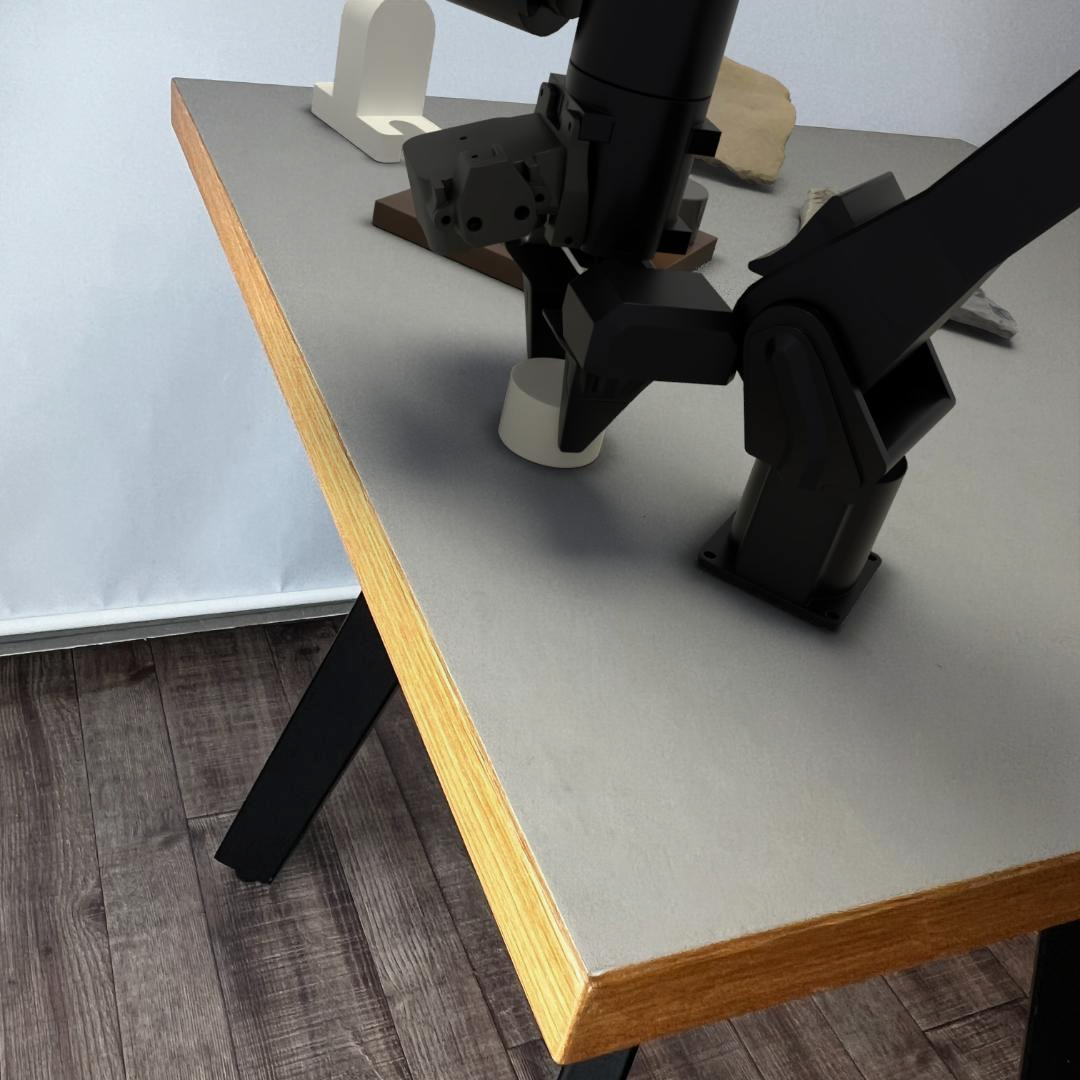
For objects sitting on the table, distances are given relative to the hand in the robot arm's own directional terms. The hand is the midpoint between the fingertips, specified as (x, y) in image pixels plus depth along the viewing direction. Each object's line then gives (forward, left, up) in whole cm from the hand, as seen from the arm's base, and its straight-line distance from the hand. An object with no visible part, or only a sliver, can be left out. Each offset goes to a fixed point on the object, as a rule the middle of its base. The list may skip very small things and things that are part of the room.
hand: (553, 420), depth 57 cm
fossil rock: (+41, -6, -1) cm, 41 cm away
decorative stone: (+48, +13, -1) cm, 50 cm away
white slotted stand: (+27, +29, -1) cm, 40 cm away
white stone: (0, 0, -1) cm, 1 cm away
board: (+21, +12, -1) cm, 25 cm away
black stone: (+26, +7, +1) cm, 27 cm away
